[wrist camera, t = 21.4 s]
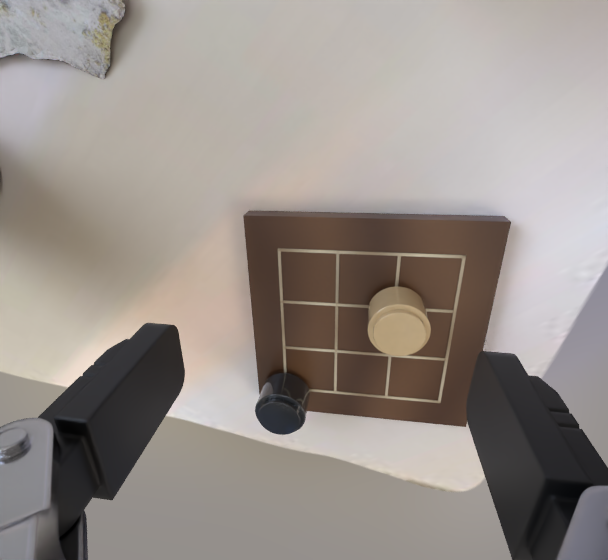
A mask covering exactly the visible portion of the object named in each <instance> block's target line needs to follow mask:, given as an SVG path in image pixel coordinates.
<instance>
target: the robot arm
mask: <svg viewBox="0 0 608 560" xmlns="http://www.w3.org/2000/svg"><path fill="white" fill-rule="evenodd" d="M184 376H185V370H184V363H183V357H182V351H181V345H180V339H179V333H178V329H177V327H176V326H174V325H167V324H155V323H146V324H144V325H143V326H142V327H141V328H140V329H139V330H138V331H137V332H136V333H135V334H134V335H133V336H132V337H131V338H130V339H125V340H124V341H122V342H120V343H118V344H117V345H115V346H113V347H111V348H110V349H108V350H107V351H106V352H105V353H104V354H103V355H101V356H100V357H99V358H98V359H97V360H96V361H95V362H94V365H91V366H90V367H89V368H88V369H87V370H86V371H85V372H84V373H83V376H80V377H79V378H78V379H77V380H76V381H75V382H74V383H73V384H72V385H71V386H70V387H69V388H68V389H67V390H66V391H65V392H64V393H62V395H61V396H59V397H58V398H57V399H56V401H54V402H53V403H52V404H51V405H50V406H49V407H48V408H47V409H46V410H45V411H44V412H43V413H42V414H41V415H40V416H39V417H38V418H26V419H21V420H17V421H14V422H11V423H8V424H6V425H4V426H2V427H0V560H88V549H87V524H86V514H85V512H84V509H85V507H86V506H87V505H88V503H89V502H90V500H91V499H92V497H93V498H100V499H107V500H113V498H114V497H115V495H116V494H117V492H118V491H119V489H120V487H121V486H122V484H123V483H124V481H125V479H126V478H127V476H128V474H129V473H130V471H131V470H132V468H133V467H134V465H135V463H136V462H137V460H138V459H139V457H140V455H141V454H142V452H143V451H144V449H145V447H146V446H147V444H148V443H149V441H150V440H151V438H152V436H153V435H154V433H155V432H156V430H157V428H158V427H159V425H160V424H161V422H162V420H163V419H164V417H165V416H166V414H167V412H168V411H169V409H170V408H171V406H172V404H173V403H174V401H175V400H176V398H177V396H178V395H179V393H180V391H181V389H182V386H183V383H184ZM466 414H467V421H468V425H469V428H470V431H471V434H472V437H473V440H474V444H475V447H476V450H477V453H478V456H479V459H480V462H481V465H482V468H483V471H484V474H485V477H486V480H487V483H488V486H489V489H490V492H491V495H492V499H493V502H494V505H495V508H496V511H497V514H498V517H499V520H500V523H501V526H502V529H503V532H504V535H505V538H506V541H507V544H508V548H509V551H510V553H511V557H512V560H608V468H607V466H606V465H605V463H604V462H603V460H602V459H601V457H600V456H599V454H598V453H597V451H596V450H595V448H594V447H593V446H592V444H591V442H590V441H589V439H588V438H587V436H586V435H585V433H584V432H583V430H582V429H579V424H578V423H577V421H576V420H575V418H574V417H573V415H572V414H569V409H568V408H567V406H566V405H565V403H564V402H563V400H562V399H561V397H560V396H559V394H558V393H557V392H556V391H555V390H554V389H553V388H551V387H550V386H549V385H548V384H546V383H545V382H544V381H543V380H542V379H540V378H539V377H538V376H528V374H527V373H526V371H525V369H524V368H523V366H522V364H521V363H520V361H519V359H518V358H517V356H516V355H515V354H511V353H498V352H486V351H481V352H480V353H479V354H478V356H477V359H476V364H475V368H474V372H473V376H472V380H471V384H470V388H469V392H468V396H467V402H466Z"/></svg>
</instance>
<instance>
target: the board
mask: <svg viewBox="0 0 608 560" xmlns="http://www.w3.org/2000/svg"><path fill="white" fill-rule="evenodd" d="M510 224H511V222H510V221H509V220H508V219H507V218H506V217H504V216H467V215H422V214H376V213H330V212H284V211H248V212H247V213H246V214H245V215H244V227H245V238H246V249H247V260H248V271H249V282H250V293H251V304H252V315H253V326H254V338H255V349H256V360H257V371H258V382H259V393H261V391H262V388H263V385H264V383H265V381H266V380H267V379H268V378H269V377H270V376H272V375H274V374H278V373H290V374H294V375H296V376H298V377H299V378H300V379H302V380H303V381H304V382H305V383H306V385H307V386H308V388H309V391H310V399H309V404H308V409H307V411H313V412H323V413H333V414H343V415H353V416H363V417H373V418H383V419H393V420H403V421H413V422H423V423H433V424H443V425H453V426H463V427H466V424H467V414H466V402H467V396H468V392H469V388H470V384H471V380H472V376H473V372H474V368H475V364H476V359H477V356H478V354H479V353H480V352H481V351H483V346H484V342H485V337H486V333H487V328H488V324H489V319H490V315H491V310H492V306H493V301H494V296H495V292H496V287H497V283H498V278H499V274H500V269H501V265H502V260H503V255H504V251H505V246H506V242H507V237H508V233H509V228H510ZM389 287H405V288H408V289H411V290H413V291H414V292H416V293H417V294H418V295H419V296H420V297H421V298H422V300H423V302H424V304H425V308H426V311H427V315H428V319H429V322H430V327H431V333H430V337H429V340H428V341H427V343H426V344H425V346H424V347H423V348H422V349H420V350H419V351H417V352H415V353H413V354H410V355H406V356H392V355H388V354H385V353H383V352H381V351H380V350H378V349H377V348H376V347H375V346H374V345H373V344H372V342H371V341H370V339H369V336H368V306H369V303H370V301H371V299H372V298H373V297H374V296H375V295H376V294H377V293H378V292H380V291H381V290H383V289H386V288H389Z"/></svg>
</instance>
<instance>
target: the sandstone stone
mask: <svg viewBox="0 0 608 560" xmlns="http://www.w3.org/2000/svg"><path fill="white" fill-rule="evenodd" d="M430 333H431V327H430V322H429V319H428V315H427V311H426V308H425V304H424V302H423V300H422V298H421V297H420V296H419V295H418V294H417V293H416V292H414V291H413V290H411V289H408V288H405V287H389V288H386V289H383V290H381V291H380V292H378V293H377V294H376V295H375V296H374V297H373V298H372V299H371V301H370V303H369V306H368V336H369V339H370V341H371V342H372V344H373V345H374V346H375V347H376V348H377V349H378V350H380V351H381V352H383V353H385V354H388V355H392V356H406V355H410V354H413V353H415V352H417V351H419V350H420V349H422V348H423V347H424V346H425V344H426V343H427V341H428V340H429V337H430Z"/></svg>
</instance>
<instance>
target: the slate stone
mask: <svg viewBox="0 0 608 560" xmlns="http://www.w3.org/2000/svg"><path fill="white" fill-rule="evenodd" d="M309 399H310V391H309V388H308V386H307V385H306V383H305V382H304V381H303V380H302V379H300V378H299V377H298V376H296V375H294V374H290V373H278V374H274V375H272V376H270V377H269V378H268V379H267V380H266V381H265V383H264V385H263V388H262V391H261V393H260V396H259V399H258V401H257V404H256V408H255V412H256V416H257V418H258V420H259V422H260V423H261V425H262V426H263V427H264V428H265V429H267V430H268V431H270V432H272V433H275V434H282V435H283V434H290V433H292V432H294V431H297V430H298V429H300V428H301V427H302V426H303V424H304V422H305V418H306V413H307V409H308V404H309Z"/></svg>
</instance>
